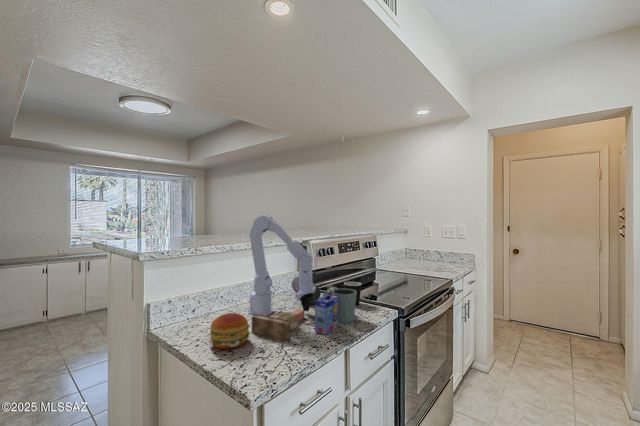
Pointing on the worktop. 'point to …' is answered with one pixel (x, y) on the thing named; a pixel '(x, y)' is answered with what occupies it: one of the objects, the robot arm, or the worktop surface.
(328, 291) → the food container
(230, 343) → the burger
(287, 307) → the worktop surface
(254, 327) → the wall
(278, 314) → the block
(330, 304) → the ink cartridge box
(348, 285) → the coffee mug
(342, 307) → the grey green cup
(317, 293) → the bluetooth speaker
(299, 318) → the brick
